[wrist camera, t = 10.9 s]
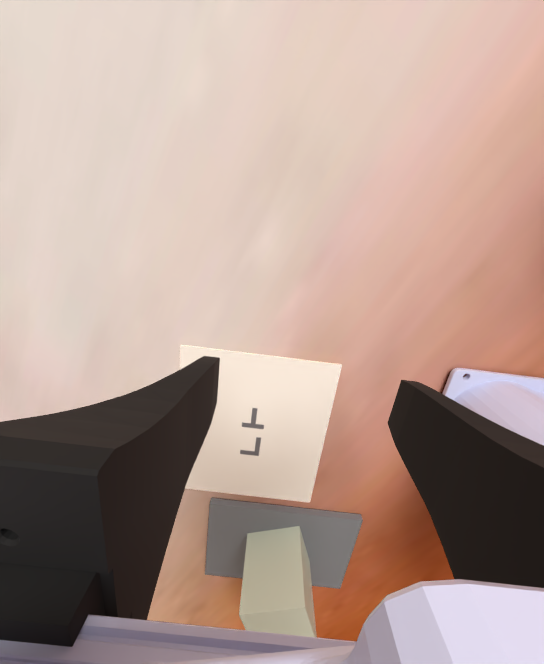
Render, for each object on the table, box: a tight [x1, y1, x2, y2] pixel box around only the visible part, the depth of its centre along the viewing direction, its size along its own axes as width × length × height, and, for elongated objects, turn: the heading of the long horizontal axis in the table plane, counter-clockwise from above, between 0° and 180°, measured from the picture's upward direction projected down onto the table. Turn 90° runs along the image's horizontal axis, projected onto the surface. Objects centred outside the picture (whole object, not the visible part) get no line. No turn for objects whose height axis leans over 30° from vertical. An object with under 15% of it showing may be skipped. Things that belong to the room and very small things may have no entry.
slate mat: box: [205, 498, 363, 589], centre depth 28 cm, size 14×10×1 cm
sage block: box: [239, 526, 317, 637], centre depth 24 cm, size 5×5×6 cm
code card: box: [180, 345, 342, 503], centre depth 23 cm, size 12×14×1 cm
